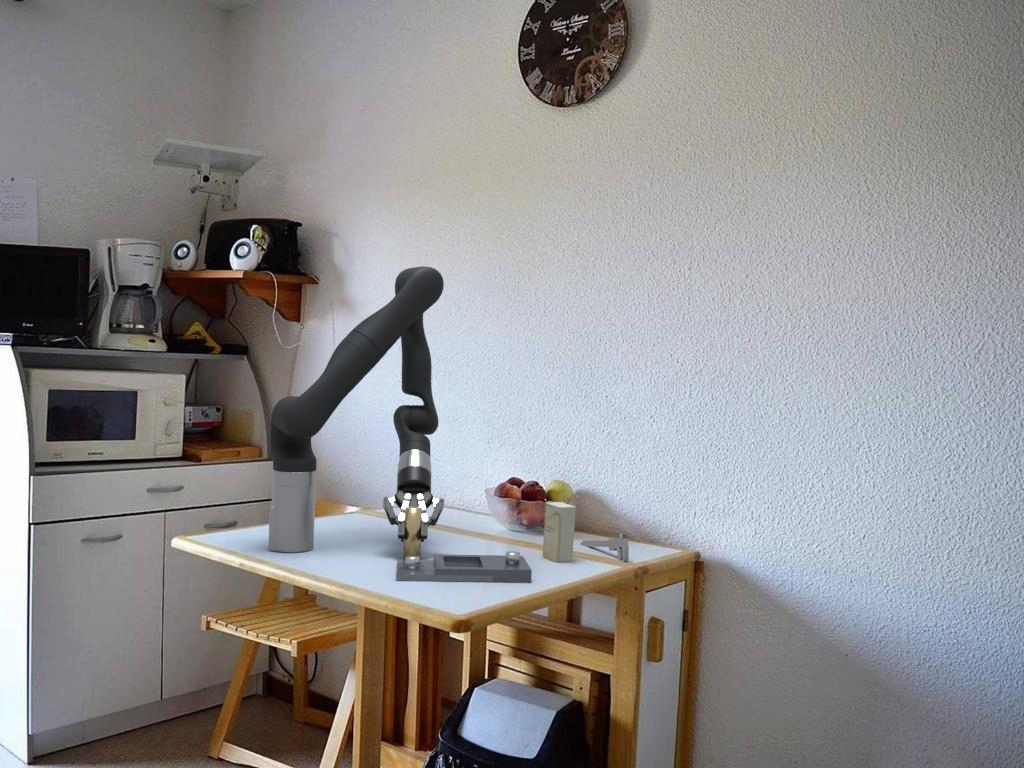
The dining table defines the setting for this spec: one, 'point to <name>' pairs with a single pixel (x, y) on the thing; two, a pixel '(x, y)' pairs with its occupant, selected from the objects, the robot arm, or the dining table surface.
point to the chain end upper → (487, 566)
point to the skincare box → (559, 531)
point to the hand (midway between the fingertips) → (412, 539)
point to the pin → (412, 531)
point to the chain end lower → (433, 571)
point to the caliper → (612, 545)
